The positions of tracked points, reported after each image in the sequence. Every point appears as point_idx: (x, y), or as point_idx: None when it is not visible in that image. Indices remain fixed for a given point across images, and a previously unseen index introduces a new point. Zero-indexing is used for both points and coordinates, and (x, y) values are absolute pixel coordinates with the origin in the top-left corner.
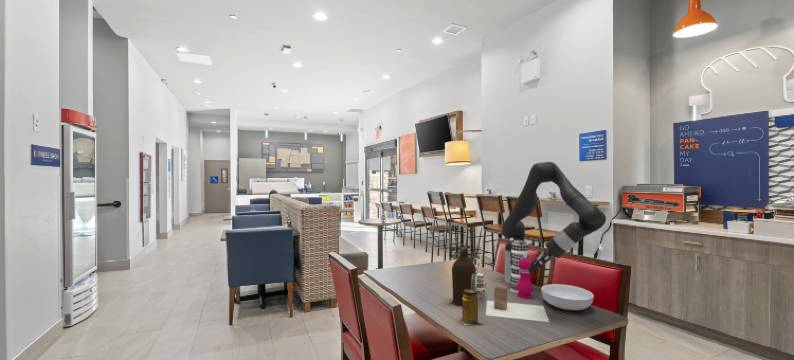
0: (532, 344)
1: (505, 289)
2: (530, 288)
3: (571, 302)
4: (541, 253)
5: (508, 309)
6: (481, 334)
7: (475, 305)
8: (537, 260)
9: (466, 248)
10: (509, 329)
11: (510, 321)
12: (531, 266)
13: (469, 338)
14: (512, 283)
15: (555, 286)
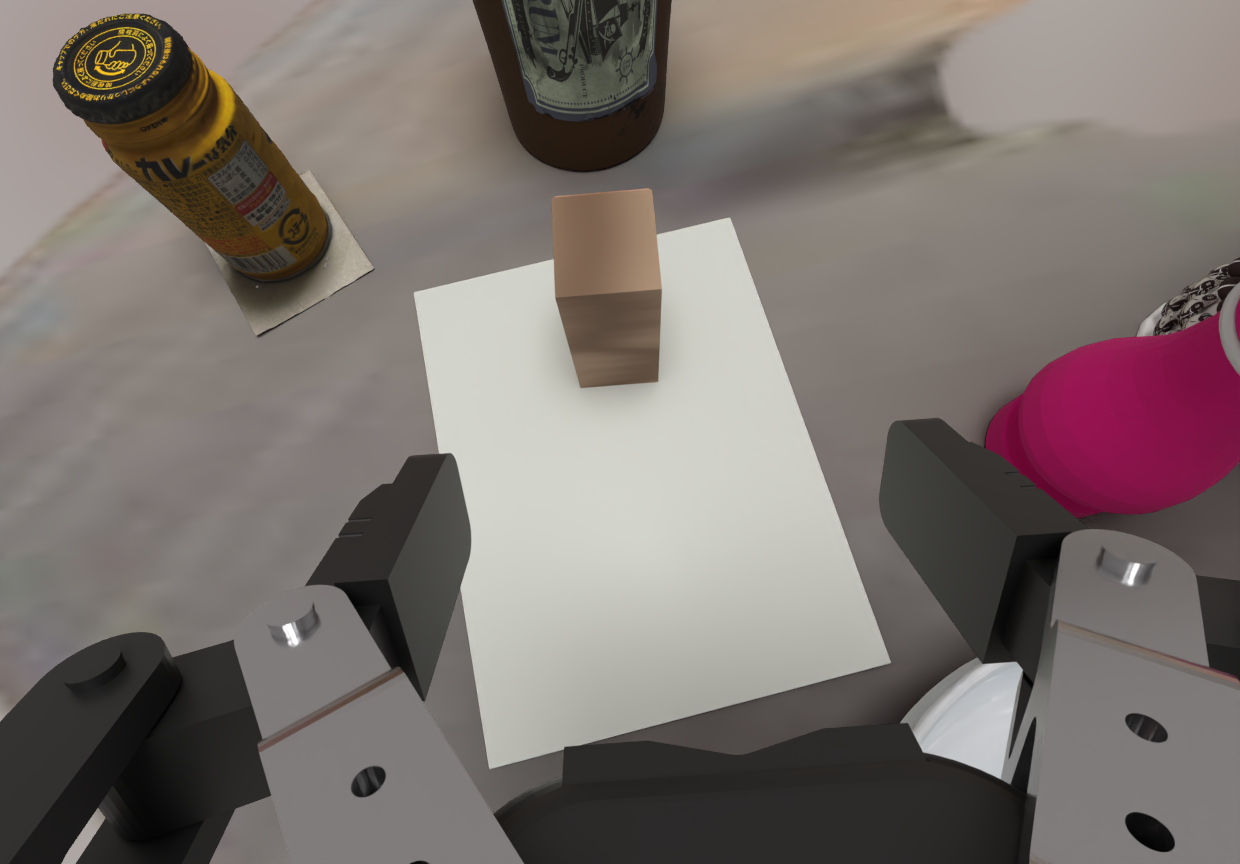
0: (19, 696)
1: (555, 295)
2: (1096, 491)
3: None
4: (1130, 841)
5: (617, 402)
6: (94, 356)
7: (152, 193)
8: (298, 696)
9: None
10: (234, 495)
11: (390, 468)
12: (379, 520)
13: (17, 314)
14: (1219, 284)
15: None
